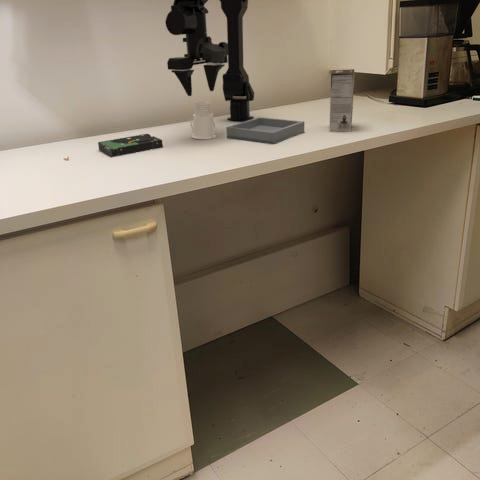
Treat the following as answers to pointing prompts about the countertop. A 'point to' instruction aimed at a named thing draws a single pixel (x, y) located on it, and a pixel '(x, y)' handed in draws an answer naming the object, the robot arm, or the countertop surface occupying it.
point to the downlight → (203, 121)
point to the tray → (265, 130)
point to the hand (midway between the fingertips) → (201, 93)
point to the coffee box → (341, 100)
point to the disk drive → (129, 145)
